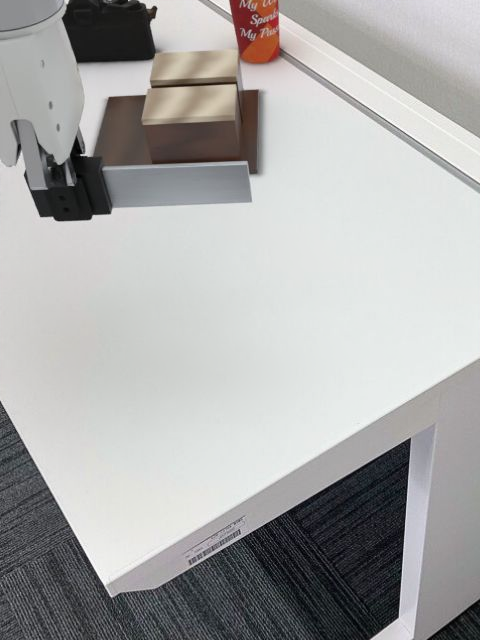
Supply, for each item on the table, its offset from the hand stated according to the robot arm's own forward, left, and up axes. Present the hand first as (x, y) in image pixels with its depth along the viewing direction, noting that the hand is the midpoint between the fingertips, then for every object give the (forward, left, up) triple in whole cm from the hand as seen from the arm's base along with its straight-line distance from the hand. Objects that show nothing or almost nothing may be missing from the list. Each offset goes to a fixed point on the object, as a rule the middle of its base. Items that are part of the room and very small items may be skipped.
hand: (77, 206), depth 66 cm
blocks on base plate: (+3, +36, -17) cm, 40 cm away
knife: (+6, 0, 0) cm, 6 cm away
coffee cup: (+13, +57, -17) cm, 61 cm away
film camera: (-11, +61, -17) cm, 64 cm away
